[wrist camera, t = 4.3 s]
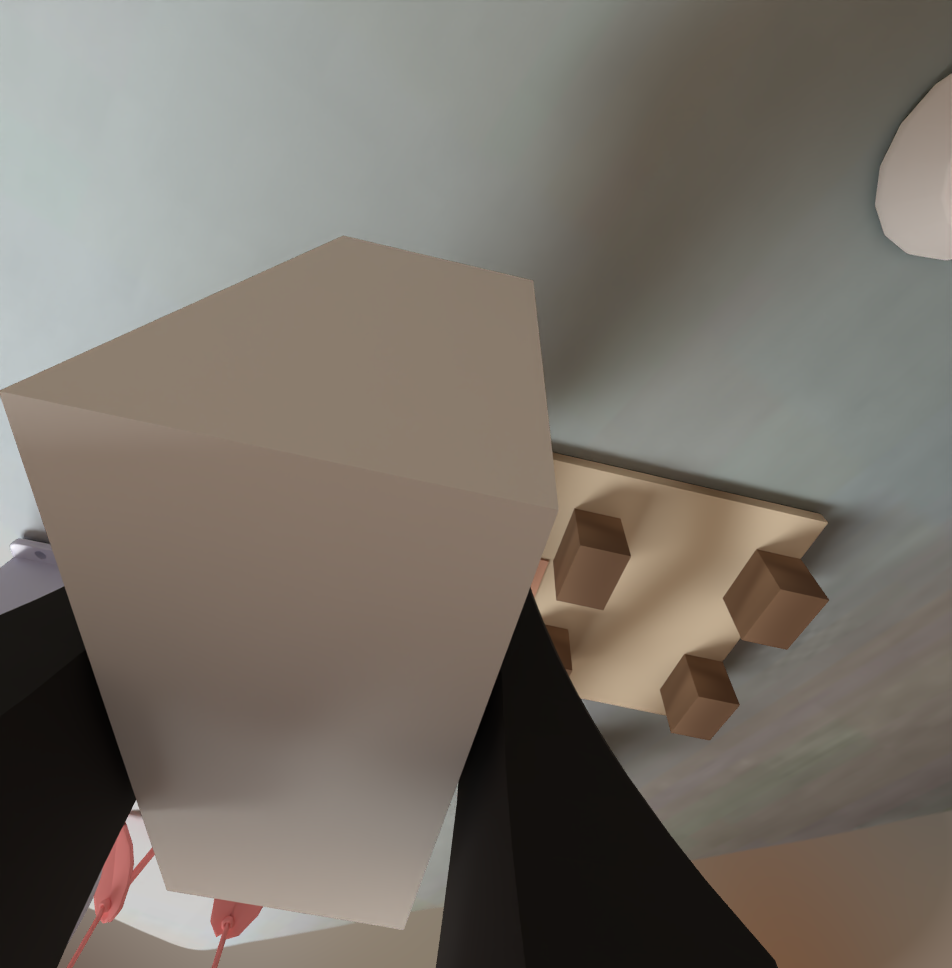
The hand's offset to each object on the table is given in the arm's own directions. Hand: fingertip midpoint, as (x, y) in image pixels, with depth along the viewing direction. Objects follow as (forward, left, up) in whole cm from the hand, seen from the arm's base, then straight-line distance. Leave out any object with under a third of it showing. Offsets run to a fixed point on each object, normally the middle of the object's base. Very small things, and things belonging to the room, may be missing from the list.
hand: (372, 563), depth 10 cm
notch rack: (+4, -9, -10) cm, 14 cm away
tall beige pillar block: (0, 0, -5) cm, 5 cm away
